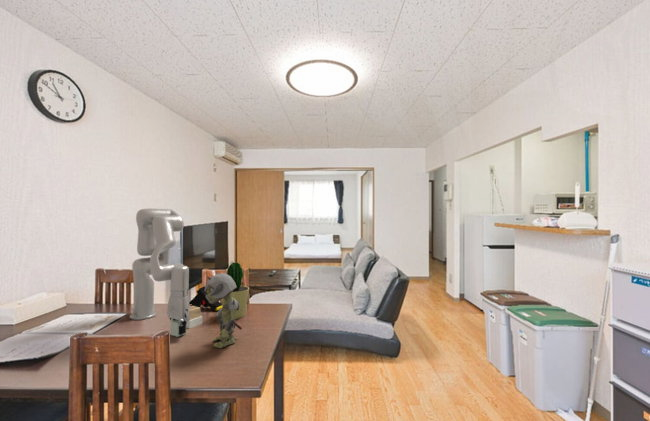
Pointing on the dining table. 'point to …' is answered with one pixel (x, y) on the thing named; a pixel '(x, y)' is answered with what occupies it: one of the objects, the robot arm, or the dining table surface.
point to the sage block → (175, 328)
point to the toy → (217, 290)
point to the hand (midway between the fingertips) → (178, 332)
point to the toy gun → (204, 300)
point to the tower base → (194, 322)
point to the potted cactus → (238, 289)
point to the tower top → (194, 312)
